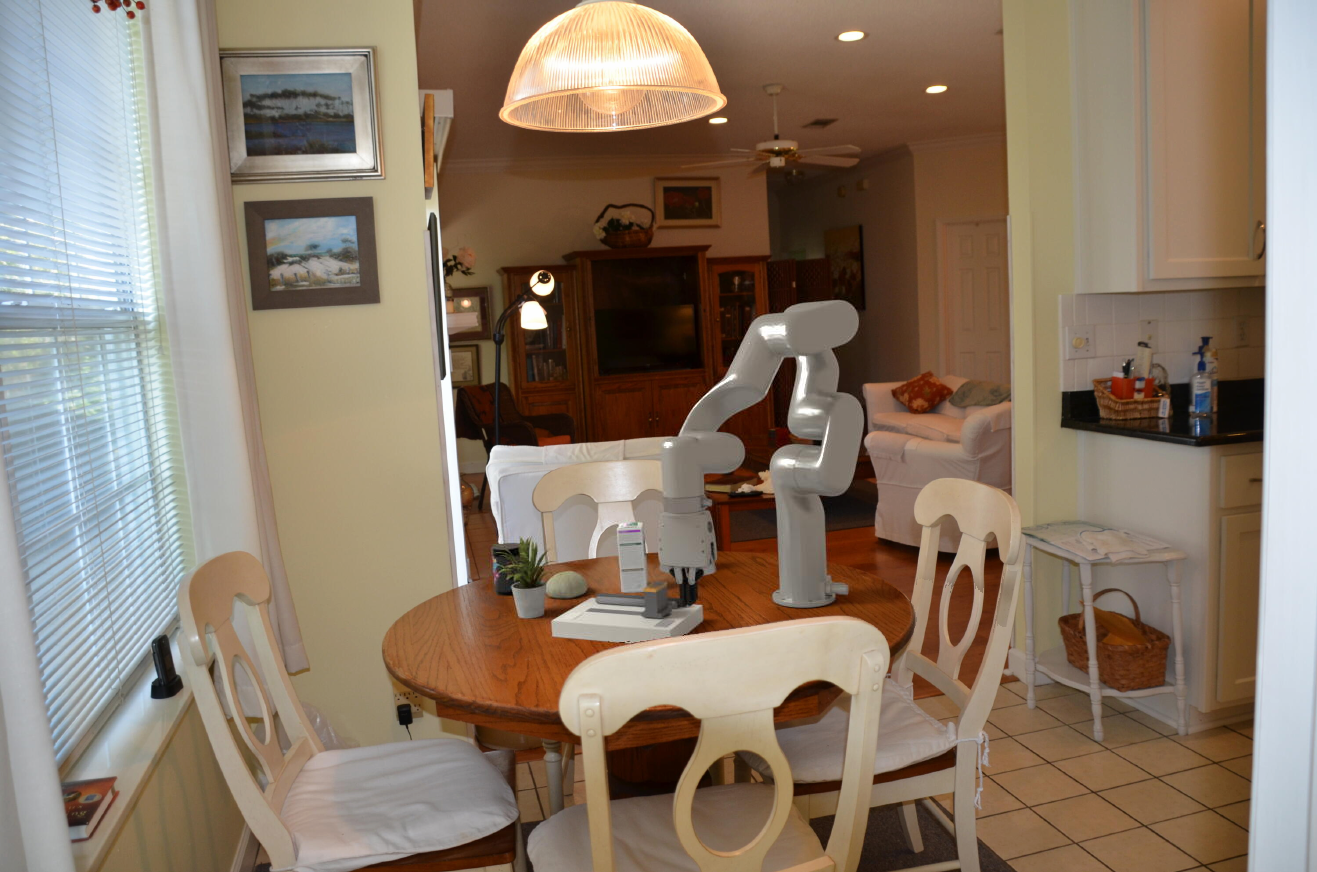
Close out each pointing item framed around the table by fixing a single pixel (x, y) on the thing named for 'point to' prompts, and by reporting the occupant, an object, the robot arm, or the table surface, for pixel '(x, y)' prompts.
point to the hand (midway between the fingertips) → (689, 603)
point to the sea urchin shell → (566, 585)
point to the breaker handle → (656, 600)
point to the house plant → (528, 580)
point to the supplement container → (500, 578)
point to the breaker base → (624, 620)
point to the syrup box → (632, 557)
